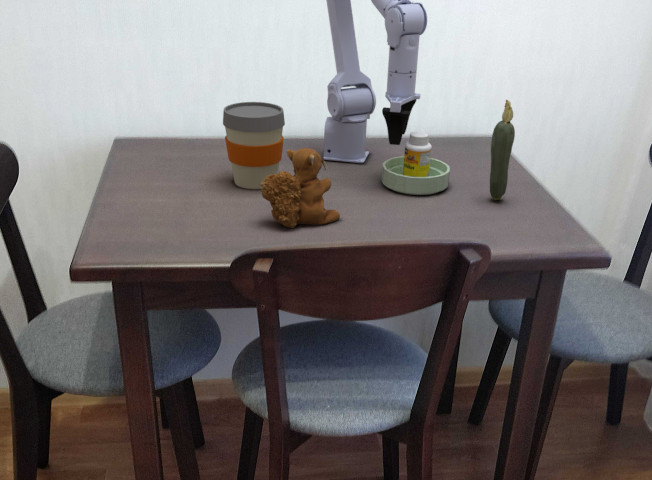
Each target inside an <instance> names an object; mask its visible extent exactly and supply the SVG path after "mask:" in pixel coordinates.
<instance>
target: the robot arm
mask: <svg viewBox="0 0 652 480" xmlns="http://www.w3.org/2000/svg"><path fill="white" fill-rule="evenodd" d="M370 1H371V3H372V5H373V6H374V7H375V9H376V10H377V11H378V12H379V14H380V15H381V16H382V17H383V19H384V28H385V31H386V42H387V45H388V46H389V50H388V62H387V79H386V91H385V94H384V96H385V98H386V100H387V101H388V102H389V105H390V106H389V107H384V106H383V108H382V110H381V114H382V117H383V118H384V121H385V124H386V128H387V129H386V130H387V138H388V143H389V145H393V146H400V145H401V142H402V139H403V135H405V134H406V131H407V128H408V124H409V121H410V116H411V113H412V111H413V108H414V106H415V105H416V103H417V100H420V99H421V96H422V95H421V93H417V92H416V83H417V74H418V73H417V71H418V61H419V60H418V59H419V50H420V49H419V48H420V38H421V37H420V36H422V35H423V34H424V33H425V31H426V29H427V26H428V14H427V10H426V8H425V7H424V5H423V3H422V2H419V1H418V2H415V1H413V0H370ZM325 2H326V7H327V13H328V21H329V28H330V29H329V30H330V36H331V43H332V49H333V56H334V64H335V70H336V71H335V72H336V75H334V76H333V78H332V79H331V80H330V81H329V83H328V84H327V87H326V88H327V100H326V103H327V104H326V105H327V106H326V107H327V110H328V112H329V114H330V116H327V117H326V119H325V123H324V132H323V156H322V160H323V161H334V162H343V163H355V164H364V163H365V161H366V160H367V158H368V156H369V154H370V151H368V150H366V146H367V143H366V142H367V127H368V126H367V125H368V120H370V119H371V115H372V114H373V113H374V111H375V109H376V106H377V97H376V93H375V91H374V89H373V86H372V81H371V78H370V77H369V76H368V75H367V74H365V73H364V72H362V71H361V68H360V61H359V53H358V44H357V38H356V30H355V23H354V17H353V16H354V15H353V8H352V0H326V1H325Z"/></svg>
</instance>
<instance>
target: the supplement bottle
mask: <svg viewBox="0 0 652 480" xmlns="http://www.w3.org/2000/svg"><path fill="white" fill-rule="evenodd" d="M429 140H430V134H429V133H428V132H425V131H412V132H410V133H409V137H408V141H406V143H405V145H404V154H403V156H404V166H403V175H405V176H411V177H429V169H430V159H431V158H432V149H433V147H432V144H431V143H430V142H429Z"/></svg>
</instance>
